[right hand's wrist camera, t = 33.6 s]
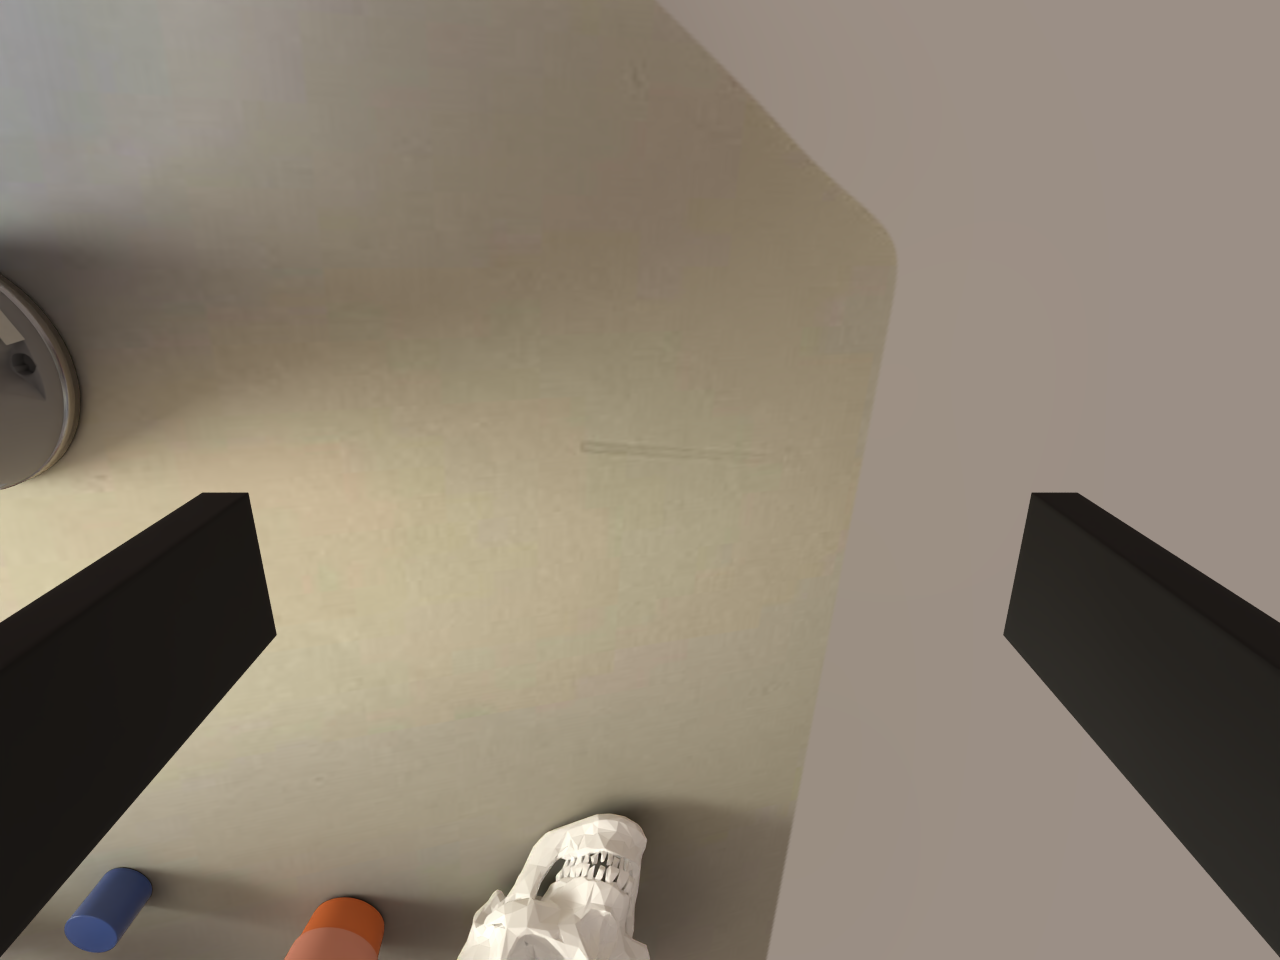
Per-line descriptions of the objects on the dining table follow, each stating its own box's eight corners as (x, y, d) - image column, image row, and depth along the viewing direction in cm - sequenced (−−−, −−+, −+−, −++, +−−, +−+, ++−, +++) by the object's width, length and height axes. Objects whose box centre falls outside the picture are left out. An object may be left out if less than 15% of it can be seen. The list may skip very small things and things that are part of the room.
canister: (156, 904, 62) (121, 954, 58) (107, 902, 62) (69, 951, 58) (148, 868, 61) (112, 917, 57) (99, 866, 61) (59, 914, 57)
